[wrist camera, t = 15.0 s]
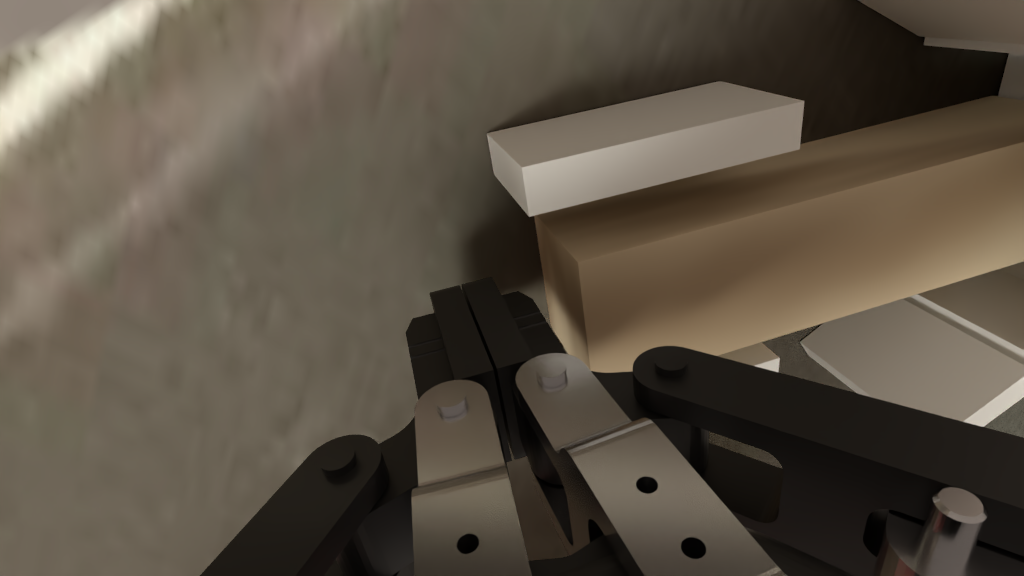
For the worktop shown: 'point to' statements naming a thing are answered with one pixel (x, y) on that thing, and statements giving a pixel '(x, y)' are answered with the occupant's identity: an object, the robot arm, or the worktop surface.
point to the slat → (788, 237)
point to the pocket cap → (951, 308)
